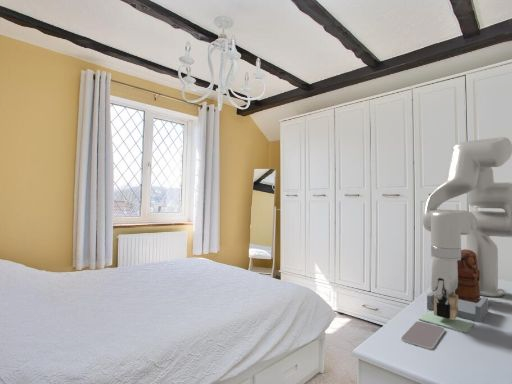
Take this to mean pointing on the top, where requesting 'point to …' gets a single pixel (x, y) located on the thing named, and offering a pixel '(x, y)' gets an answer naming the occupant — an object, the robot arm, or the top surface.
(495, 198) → the robot arm
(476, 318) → the gray u-shaped channel
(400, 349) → the top surface
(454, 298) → the beech block
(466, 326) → the sage mat
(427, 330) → the smartphone
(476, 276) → the wooden figurine
